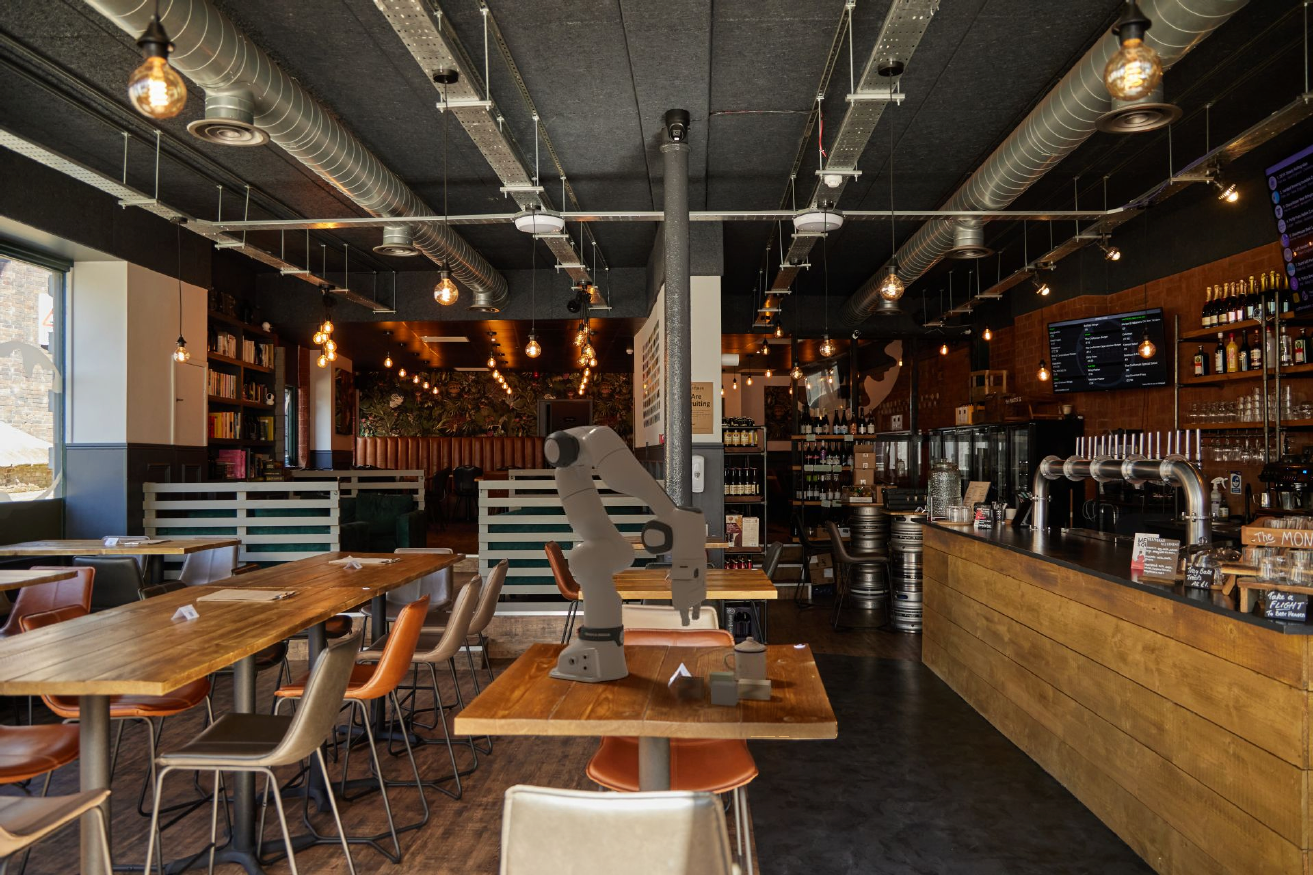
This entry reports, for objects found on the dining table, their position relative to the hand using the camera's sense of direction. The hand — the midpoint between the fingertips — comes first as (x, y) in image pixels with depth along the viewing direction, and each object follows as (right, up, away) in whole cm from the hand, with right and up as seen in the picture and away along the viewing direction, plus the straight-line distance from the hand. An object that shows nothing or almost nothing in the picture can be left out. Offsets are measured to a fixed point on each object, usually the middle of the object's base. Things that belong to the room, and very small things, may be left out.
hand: (690, 622), depth 221 cm
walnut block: (0, -19, -1) cm, 19 cm away
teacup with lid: (+16, -20, +17) cm, 31 cm away
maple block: (+16, -19, -1) cm, 25 cm away
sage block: (+8, -19, +4) cm, 21 cm away
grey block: (+8, -19, -6) cm, 22 cm away
